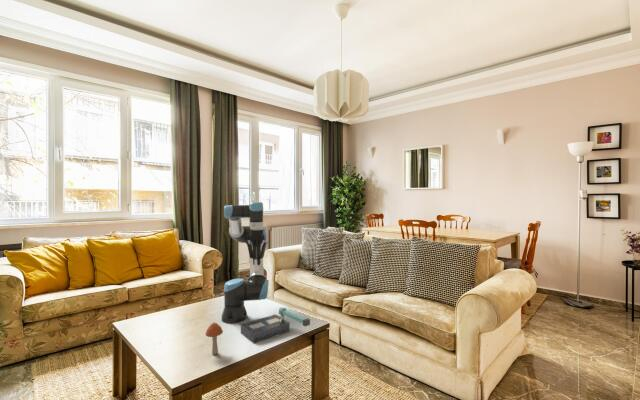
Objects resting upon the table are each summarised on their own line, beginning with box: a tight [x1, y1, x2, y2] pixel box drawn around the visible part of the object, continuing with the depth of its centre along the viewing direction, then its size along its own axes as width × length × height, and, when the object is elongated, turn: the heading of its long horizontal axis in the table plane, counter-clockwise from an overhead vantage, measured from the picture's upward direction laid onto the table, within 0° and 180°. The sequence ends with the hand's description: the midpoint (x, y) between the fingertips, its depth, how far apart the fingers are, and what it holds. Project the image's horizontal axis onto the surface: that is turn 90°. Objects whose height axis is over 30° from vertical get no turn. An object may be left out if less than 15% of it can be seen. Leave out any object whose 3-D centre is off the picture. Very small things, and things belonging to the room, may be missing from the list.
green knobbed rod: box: [278, 307, 311, 327], centre depth 178 cm, size 24×4×3 cm, turn 43°
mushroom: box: [205, 322, 224, 355], centre depth 155 cm, size 8×8×15 cm
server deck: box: [240, 314, 291, 344], centre depth 179 cm, size 15×23×8 cm, turn 128°
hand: (256, 270), depth 185 cm, fingers closed
